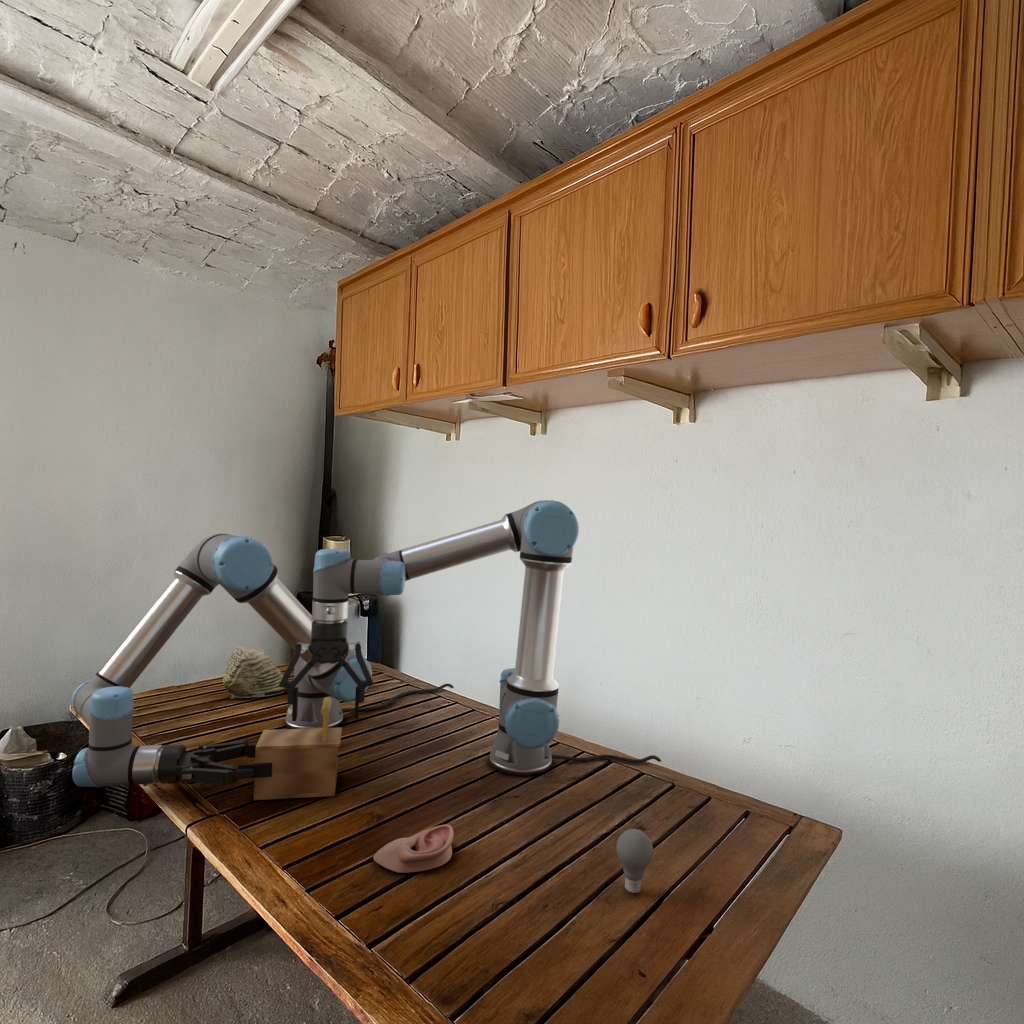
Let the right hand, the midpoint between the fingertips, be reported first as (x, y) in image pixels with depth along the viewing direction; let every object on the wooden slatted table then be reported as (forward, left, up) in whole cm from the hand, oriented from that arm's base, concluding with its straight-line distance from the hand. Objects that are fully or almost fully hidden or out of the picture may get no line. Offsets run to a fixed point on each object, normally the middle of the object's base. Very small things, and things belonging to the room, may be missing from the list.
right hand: (325, 718), depth 138 cm
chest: (+5, -1, -15) cm, 16 cm away
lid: (+5, -1, -5) cm, 7 cm away
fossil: (+16, -69, -15) cm, 73 cm away
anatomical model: (-14, +32, -15) cm, 38 cm away
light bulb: (-46, +52, -15) cm, 71 cm away
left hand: (+10, -1, -9) cm, 13 cm away
